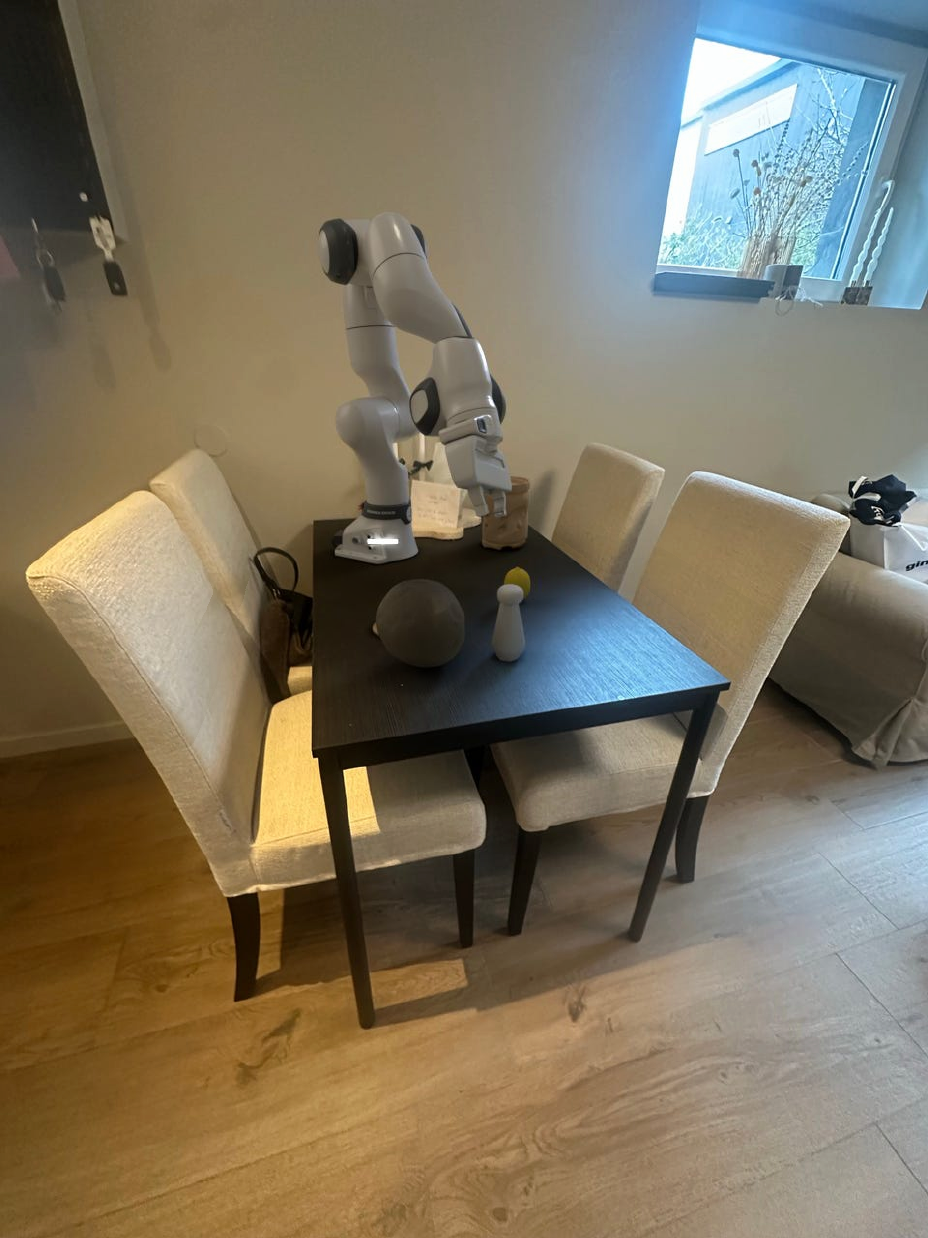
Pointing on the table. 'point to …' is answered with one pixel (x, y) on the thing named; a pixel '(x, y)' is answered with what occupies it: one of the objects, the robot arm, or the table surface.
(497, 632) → the salt shaker
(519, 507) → the container
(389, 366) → the robot arm
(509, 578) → the lemon
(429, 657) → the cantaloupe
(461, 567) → the table surface
